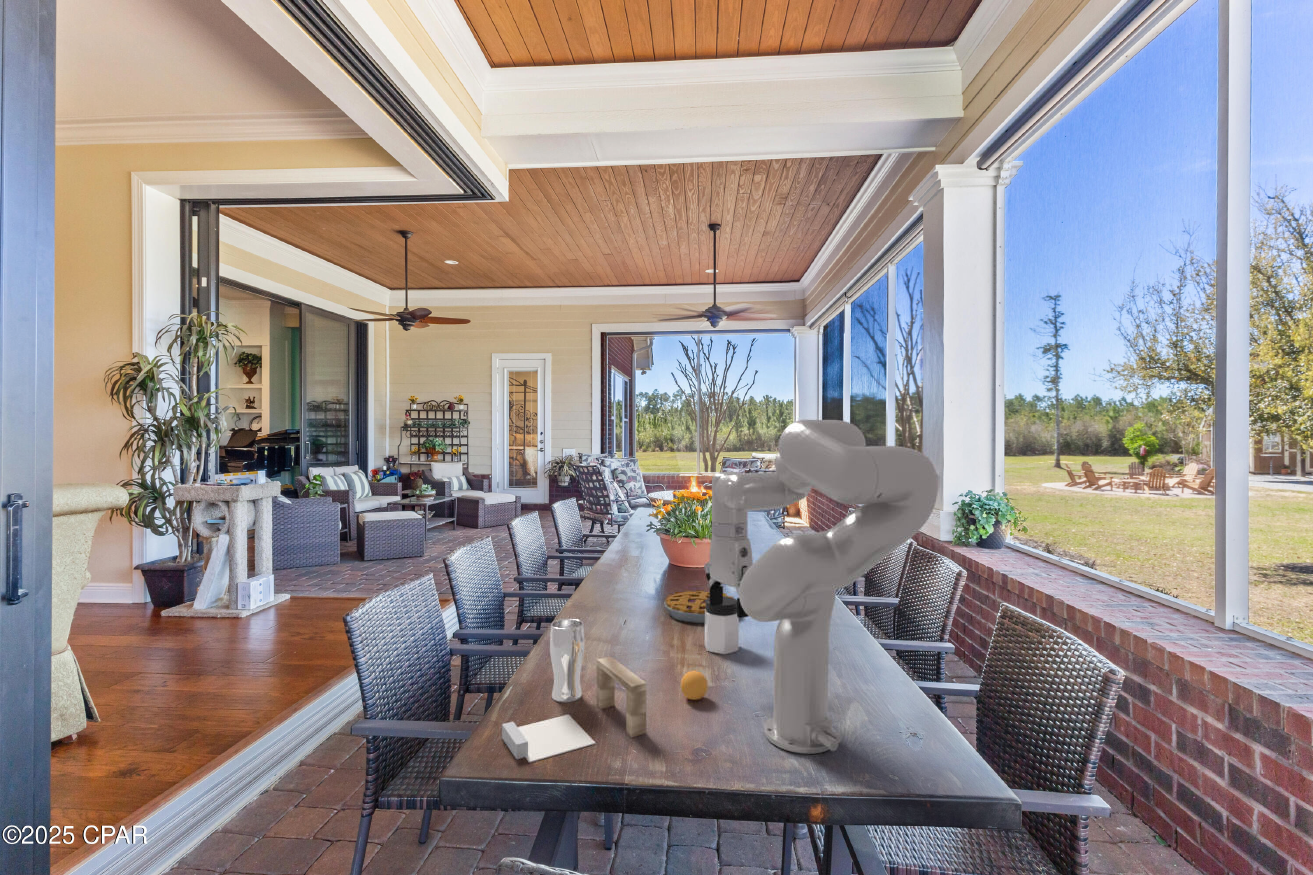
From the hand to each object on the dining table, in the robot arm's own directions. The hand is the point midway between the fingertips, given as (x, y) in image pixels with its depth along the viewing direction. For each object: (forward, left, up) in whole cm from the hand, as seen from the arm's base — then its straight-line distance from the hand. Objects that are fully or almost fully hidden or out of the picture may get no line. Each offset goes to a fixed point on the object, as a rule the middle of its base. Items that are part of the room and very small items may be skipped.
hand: (729, 610), depth 130 cm
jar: (+19, -13, -17) cm, 29 cm away
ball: (-1, +9, -14) cm, 17 cm away
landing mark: (-1, +40, -17) cm, 44 cm away
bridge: (-1, +26, -17) cm, 31 cm away
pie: (+45, -25, -17) cm, 54 cm away
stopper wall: (-1, +47, -17) cm, 50 cm away
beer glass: (+13, +31, -17) cm, 38 cm away
